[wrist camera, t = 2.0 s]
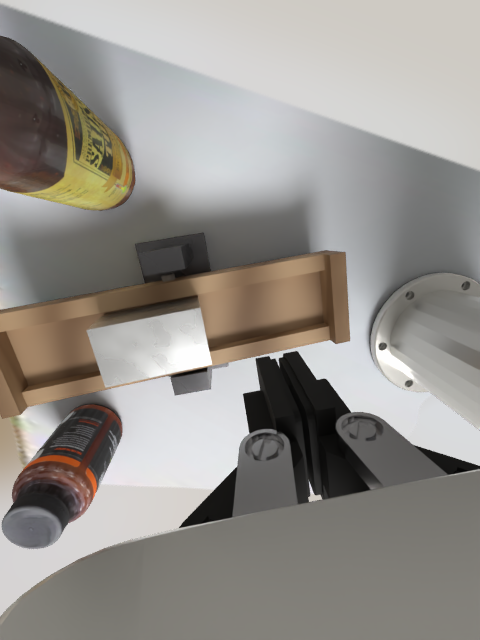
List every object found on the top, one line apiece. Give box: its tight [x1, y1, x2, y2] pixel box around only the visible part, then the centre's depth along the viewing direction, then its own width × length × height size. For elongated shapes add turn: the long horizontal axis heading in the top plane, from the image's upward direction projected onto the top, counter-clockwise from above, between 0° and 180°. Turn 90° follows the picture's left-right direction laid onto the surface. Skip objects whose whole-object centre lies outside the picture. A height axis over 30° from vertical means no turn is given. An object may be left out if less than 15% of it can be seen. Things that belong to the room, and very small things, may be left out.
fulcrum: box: [135, 233, 228, 395], centre depth 26 cm, size 26×13×6 cm, turn 99°
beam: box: [0, 250, 350, 418], centre depth 24 cm, size 26×8×6 cm, turn 99°
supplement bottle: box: [2, 404, 122, 549], centre depth 26 cm, size 6×6×11 cm
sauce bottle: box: [0, 36, 135, 211], centre depth 15 cm, size 6×6×20 cm
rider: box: [86, 296, 212, 388], centre depth 21 cm, size 7×4×4 cm, turn 99°
